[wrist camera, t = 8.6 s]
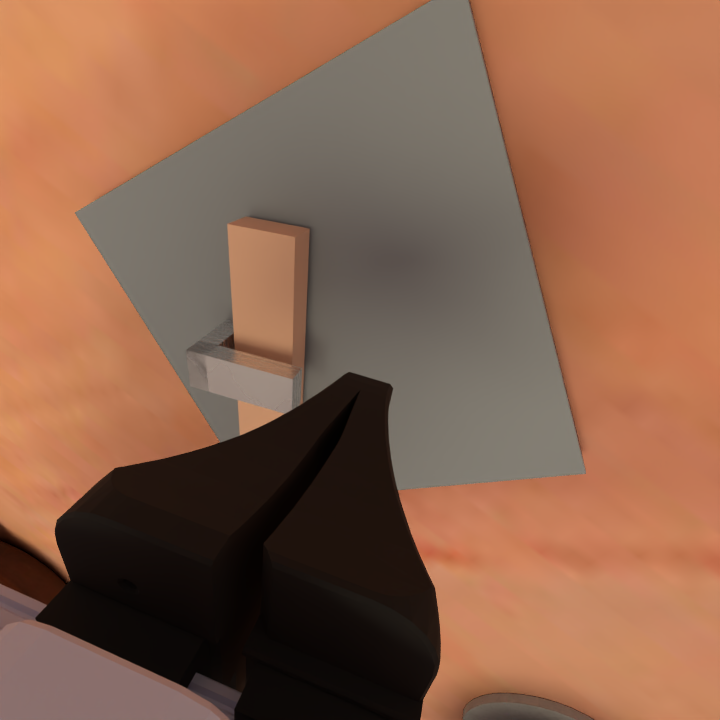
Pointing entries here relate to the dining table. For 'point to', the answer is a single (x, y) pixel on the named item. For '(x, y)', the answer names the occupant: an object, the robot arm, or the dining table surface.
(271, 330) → the link
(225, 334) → the keeper
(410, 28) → the board
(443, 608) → the dining table surface
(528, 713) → the mate gourd
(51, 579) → the dish
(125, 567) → the robot arm
